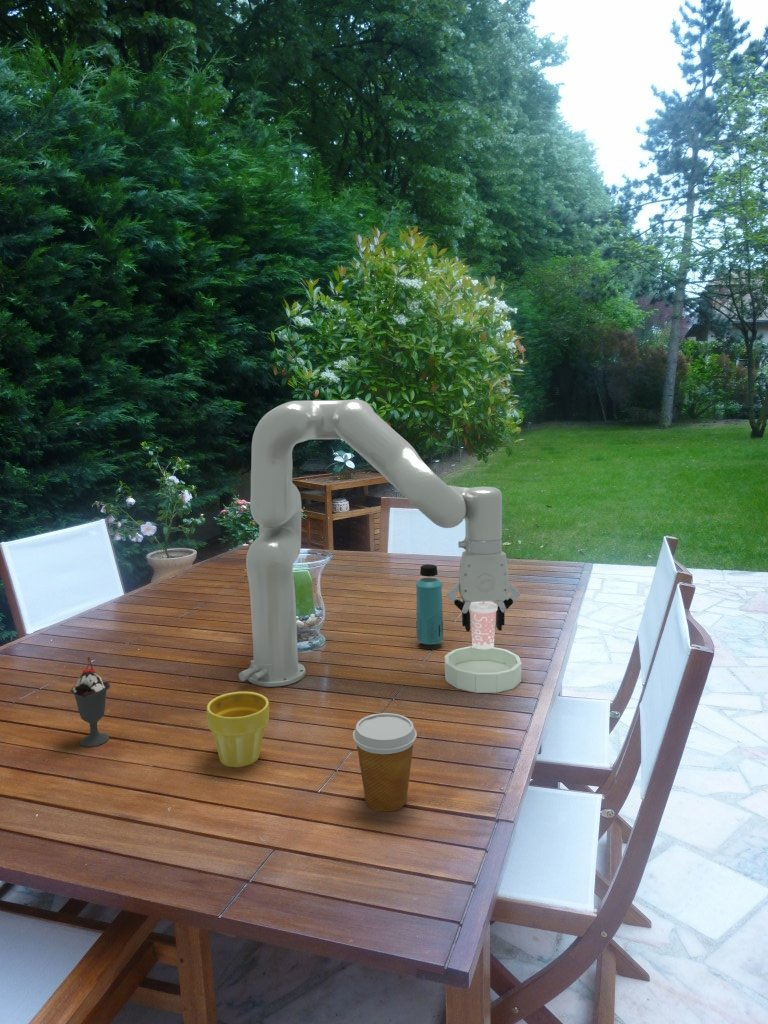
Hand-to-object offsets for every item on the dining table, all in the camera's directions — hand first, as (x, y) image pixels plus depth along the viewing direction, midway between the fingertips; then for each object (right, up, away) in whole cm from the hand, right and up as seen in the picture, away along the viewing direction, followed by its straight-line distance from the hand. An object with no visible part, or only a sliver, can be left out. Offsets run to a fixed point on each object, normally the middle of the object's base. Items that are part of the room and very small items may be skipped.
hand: (483, 628), depth 151 cm
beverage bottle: (-10, -8, +21) cm, 25 cm away
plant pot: (-46, -17, -30) cm, 57 cm away
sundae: (-73, -17, -23) cm, 78 cm away
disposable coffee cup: (-21, -19, -43) cm, 52 cm away
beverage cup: (0, -4, +1) cm, 4 cm away
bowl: (0, -11, +2) cm, 11 cm away
